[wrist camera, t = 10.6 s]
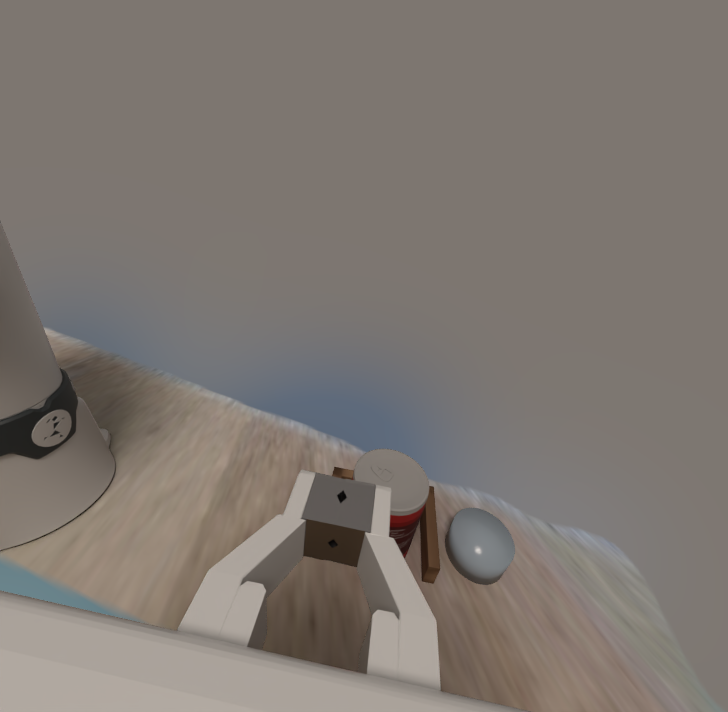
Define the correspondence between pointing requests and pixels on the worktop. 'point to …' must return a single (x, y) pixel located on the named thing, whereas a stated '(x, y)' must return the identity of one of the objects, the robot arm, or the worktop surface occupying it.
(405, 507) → the canned food
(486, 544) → the grey rounded cylinder
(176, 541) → the worktop surface
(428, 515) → the bay
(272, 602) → the worktop surface
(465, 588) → the worktop surface
